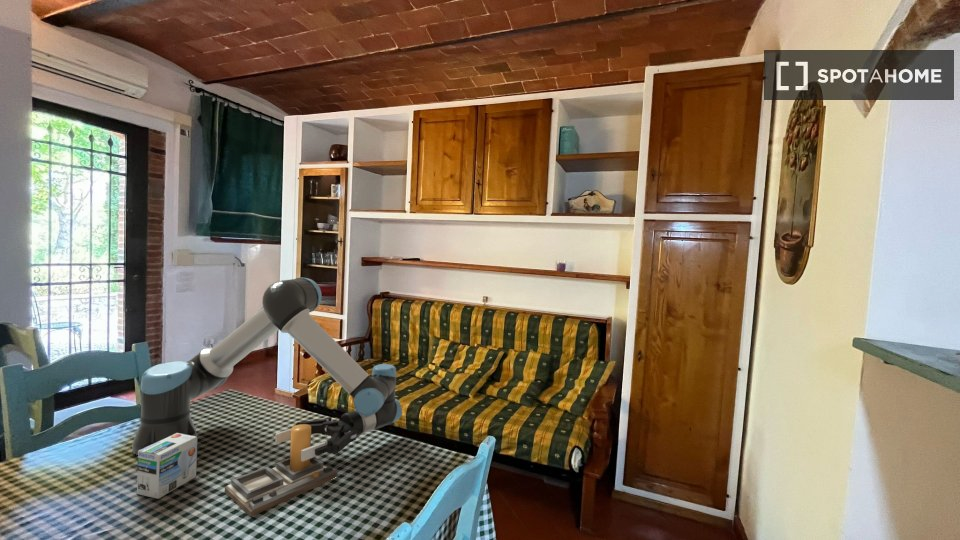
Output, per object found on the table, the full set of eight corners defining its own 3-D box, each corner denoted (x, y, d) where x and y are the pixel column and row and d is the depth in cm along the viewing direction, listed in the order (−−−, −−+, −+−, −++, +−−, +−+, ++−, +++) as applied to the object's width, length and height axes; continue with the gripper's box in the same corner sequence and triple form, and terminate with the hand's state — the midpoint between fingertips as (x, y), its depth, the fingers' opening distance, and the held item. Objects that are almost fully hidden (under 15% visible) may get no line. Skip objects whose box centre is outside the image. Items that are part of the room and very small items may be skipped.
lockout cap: (286, 468, 111) (287, 428, 111) (303, 461, 115) (305, 422, 115) (295, 475, 108) (297, 434, 108) (313, 467, 112) (315, 428, 112)
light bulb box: (158, 499, 97) (159, 455, 97) (135, 494, 99) (135, 450, 98) (197, 476, 108) (198, 435, 107) (176, 471, 109) (177, 431, 109)
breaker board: (224, 491, 102) (225, 479, 101) (308, 458, 119) (309, 448, 119) (250, 516, 93) (250, 503, 93) (336, 477, 111) (337, 465, 110)
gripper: (382, 448, 118) (313, 478, 101) (333, 422, 133) (265, 445, 116) (384, 422, 118) (314, 449, 101) (334, 399, 133) (266, 419, 116)
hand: (288, 447), depth 109 cm, fingers open, 13 cm apart
